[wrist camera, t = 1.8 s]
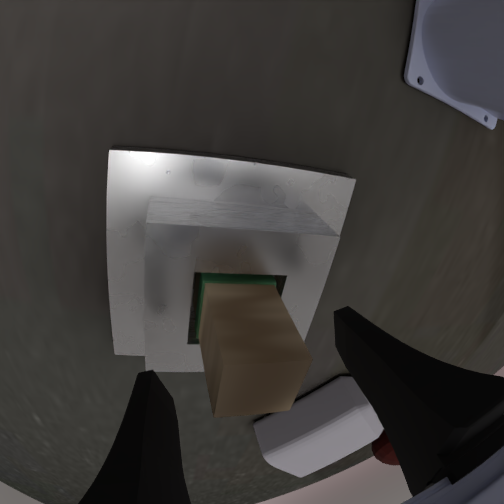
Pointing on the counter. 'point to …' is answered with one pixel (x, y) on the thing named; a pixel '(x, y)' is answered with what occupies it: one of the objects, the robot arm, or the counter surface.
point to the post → (247, 344)
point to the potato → (384, 450)
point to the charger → (318, 428)
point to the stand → (211, 240)
